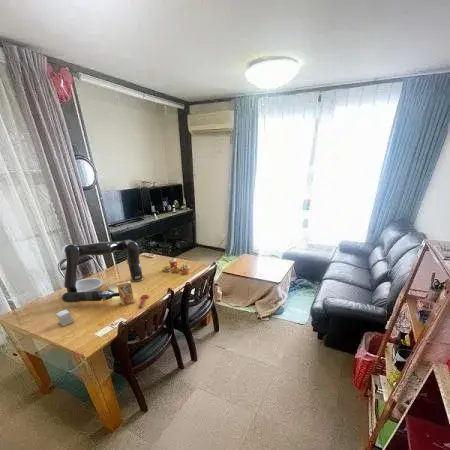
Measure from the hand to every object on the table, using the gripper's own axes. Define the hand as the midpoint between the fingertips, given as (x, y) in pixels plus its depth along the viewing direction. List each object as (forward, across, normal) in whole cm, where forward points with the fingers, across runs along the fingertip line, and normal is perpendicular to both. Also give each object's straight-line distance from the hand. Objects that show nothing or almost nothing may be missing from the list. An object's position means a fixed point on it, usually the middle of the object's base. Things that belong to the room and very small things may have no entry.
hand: (119, 294), depth 177 cm
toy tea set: (+35, +56, +7) cm, 67 cm away
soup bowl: (-31, +20, +7) cm, 37 cm away
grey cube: (-28, -22, +7) cm, 36 cm away
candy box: (+5, 0, +7) cm, 9 cm away
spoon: (+15, +1, +7) cm, 17 cm away
